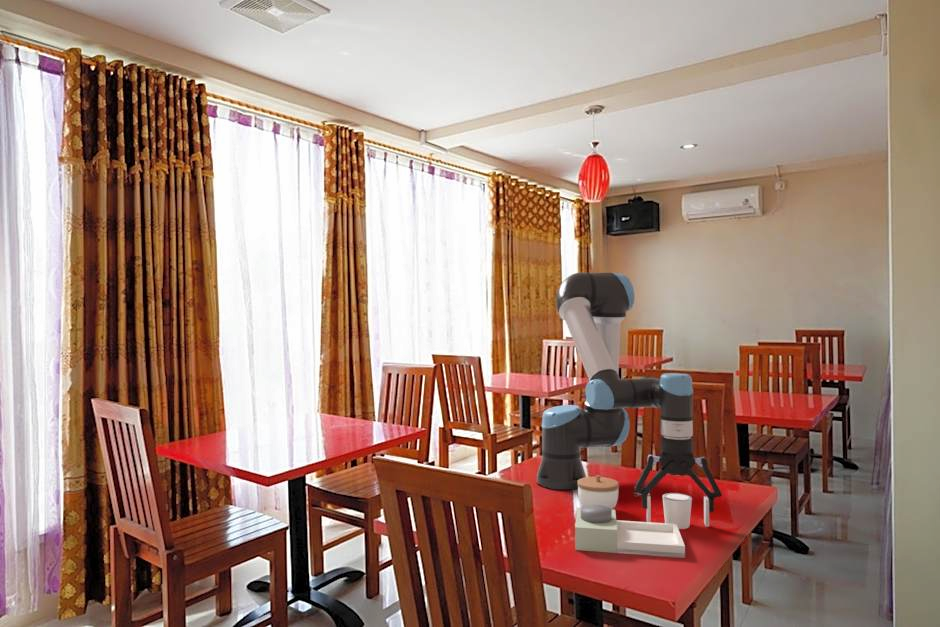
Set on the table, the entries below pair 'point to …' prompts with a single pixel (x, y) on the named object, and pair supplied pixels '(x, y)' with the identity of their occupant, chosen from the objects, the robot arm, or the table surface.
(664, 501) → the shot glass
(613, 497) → the lidded jar
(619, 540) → the knobbed tray panel
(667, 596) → the table surface
